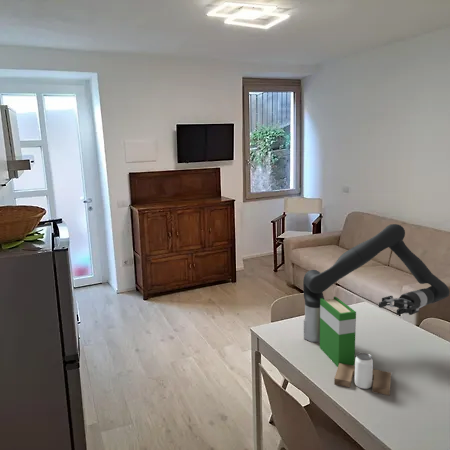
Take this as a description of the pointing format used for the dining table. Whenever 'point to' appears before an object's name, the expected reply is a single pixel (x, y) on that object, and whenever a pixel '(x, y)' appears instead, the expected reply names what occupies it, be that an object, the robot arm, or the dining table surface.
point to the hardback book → (337, 331)
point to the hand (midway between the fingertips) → (388, 308)
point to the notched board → (379, 378)
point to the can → (363, 370)
